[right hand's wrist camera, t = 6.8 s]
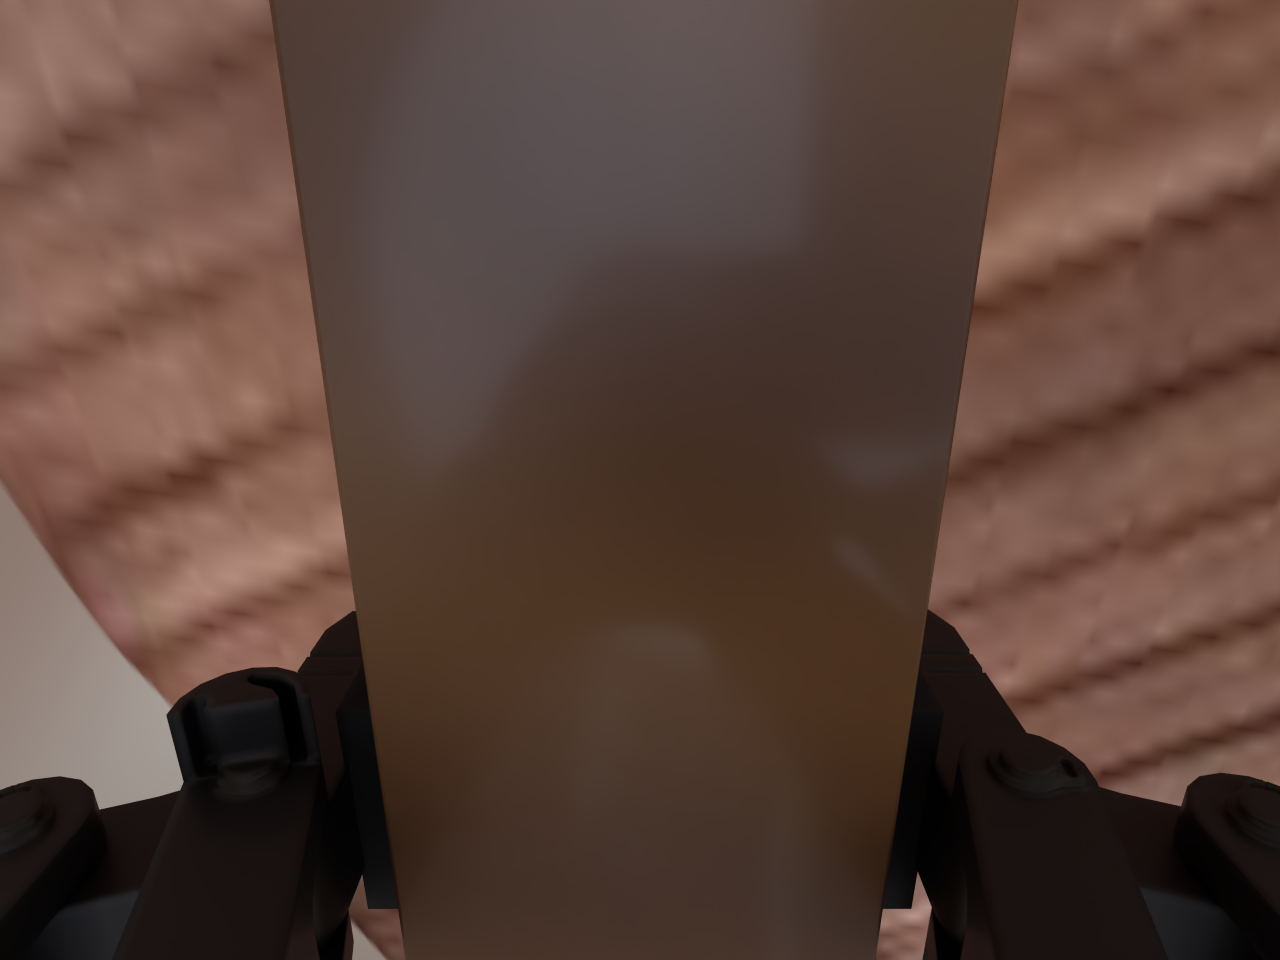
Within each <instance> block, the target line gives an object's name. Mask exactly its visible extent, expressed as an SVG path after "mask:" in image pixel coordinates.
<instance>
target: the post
mask: <svg viewBox="0 0 1280 960" xmlns="http://www.w3.org/2000/svg"><path fill="white" fill-rule="evenodd" d="M269 1H270V8H271V15H272V22H273V30H274V37H275V44H276V51H277V58H278V65H279V72H280V79H281V86H282V93H283V100H284V107H285V114H286V121H287V128H288V135H289V142H290V149H291V156H292V163H293V170H294V178H295V185H296V192H297V199H298V206H299V213H300V220H301V227H302V234H303V241H304V248H305V255H306V262H307V269H308V276H309V283H310V290H311V297H312V304H313V311H314V318H315V326H316V333H317V340H318V347H319V354H320V361H321V368H322V375H323V382H324V389H325V396H326V403H327V410H328V417H329V424H330V431H331V438H332V445H333V452H334V459H335V466H336V474H337V481H338V488H339V495H340V502H341V509H342V516H343V523H344V530H345V537H346V544H347V551H348V558H349V565H350V572H351V579H352V586H353V593H354V600H355V607H356V614H357V622H358V629H359V636H360V643H361V650H362V657H363V664H364V671H365V678H366V685H367V692H368V699H369V706H370V713H371V720H372V727H373V734H374V741H375V748H376V755H377V762H378V769H379V777H380V784H381V791H382V798H383V805H384V812H385V819H386V826H387V833H388V840H389V847H390V854H391V861H392V868H393V875H394V882H395V889H396V896H397V903H398V910H399V917H400V925H401V932H402V939H403V946H404V953H405V960H875V958H876V951H877V944H878V937H879V931H880V924H881V917H882V911H883V904H884V897H885V891H886V884H887V877H888V870H889V864H890V857H891V850H892V844H893V837H894V830H895V824H896V817H897V810H898V803H899V797H900V790H901V783H902V777H903V770H904V763H905V756H906V750H907V743H908V736H909V730H910V723H911V716H912V710H913V703H914V696H915V689H916V683H917V676H918V669H919V663H920V656H921V649H922V643H923V636H924V629H925V622H926V616H927V609H928V602H929V596H930V589H931V582H932V576H933V569H934V562H935V555H936V549H937V542H938V535H939V529H940V522H941V515H942V509H943V502H944V495H945V488H946V482H947V475H948V468H949V462H950V455H951V448H952V442H953V435H954V428H955V421H956V415H957V408H958V401H959V395H960V388H961V381H962V374H963V368H964V361H965V354H966V348H967V341H968V334H969V328H970V321H971V314H972V307H973V301H974V294H975V287H976V281H977V274H978V267H979V261H980V254H981V247H982V240H983V234H984V227H985V220H986V214H987V207H988V200H989V194H990V187H991V180H992V173H993V167H994V160H995V153H996V147H997V140H998V133H999V127H1000V120H1001V113H1002V106H1003V100H1004V93H1005V86H1006V80H1007V73H1008V66H1009V60H1010V53H1011V46H1012V39H1013V33H1014V26H1015V19H1016V13H1017V6H1018V0H269Z"/></svg>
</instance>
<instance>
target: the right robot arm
mask: <svg viewBox="0 0 1280 960" xmlns="http://www.w3.org/2000/svg"><path fill="white" fill-rule="evenodd" d="M167 719H168V723H169V727H170V731H171V735H172V739H173V742H174V746H175V750H176V754H177V758H178V762H179V766H180V769H181V773H182V777H183V781H184V783H183V785H182V787H181V790H180V791H176V792H173V793H170V794H166V795H163V796H159V797H155V798H151V799H146V800H142V801H137V802H132V803H128V804H124V805H119V806H114V807H110V808H105V809H101V810H99V808H98V804H97V801H96V798H95V795H94V792H93V790H92V789H91V788H90V787H89V786H88V785H87V784H85V783H84V782H83V781H82V780H79V779H73V778H66V777H60V776H59V777H51V778H43V779H34V780H30V781H27V782H23V783H20V784H17V785H13V786H10V787H7V788H5V789H2V790H0V960H352V954H353V944H354V941H353V934H352V927H351V921H350V915H349V910H348V909H349V906H350V904H351V901H352V899H353V896H354V894H355V891H356V889H357V886H358V883H359V881H360V878H361V876H362V875H363V881H364V887H365V893H366V899H367V905H368V909H398V903H397V896H396V889H395V882H394V875H393V868H392V861H391V854H390V847H389V840H388V833H387V826H386V819H385V812H384V805H383V798H382V791H381V784H380V777H379V769H378V762H377V755H376V748H375V741H374V734H373V727H372V720H371V713H370V706H369V699H368V692H367V685H366V678H365V671H364V664H363V657H362V650H361V643H360V636H359V629H358V622H357V614H356V611H352V612H351V613H349V614H348V615H347V616H345V617H344V618H342V619H341V620H339V621H338V622H337V623H335V624H334V625H332V626H331V627H329V628H328V629H327V630H325V632H324V633H323V635H322V636H321V638H320V639H319V641H318V642H317V643H316V645H315V646H314V648H313V649H312V651H311V652H310V657H307V658H306V660H305V661H304V663H303V664H302V665H301V667H300V668H299V670H298V673H297V672H295V671H291V670H287V669H283V668H279V667H261V668H249V669H245V670H240V671H236V672H231V673H227V674H224V675H222V676H219V677H217V678H214V679H212V680H210V681H207V682H205V683H203V684H200V685H199V686H197V687H196V688H194V689H193V690H191V691H190V692H189V693H187V694H186V695H184V696H183V697H181V698H180V699H179V700H178V701H177V702H176V704H175V705H174V706H173V707H172V709H171V710H170V711H169V712H168V714H167ZM917 872H918V873H919V876H920V878H921V881H922V883H923V886H924V888H925V891H926V893H927V896H928V899H929V901H930V904H931V906H932V910H931V915H930V921H929V926H928V932H927V937H926V943H925V949H924V954H923V960H1280V786H1278V785H1275V784H1272V783H1270V782H1265V781H1263V780H1260V779H1256V778H1253V777H1249V776H1242V775H1234V774H1226V773H1217V774H1211V775H1205V776H1199V777H1198V778H1197V779H1196V780H1194V781H1193V782H1192V783H1191V784H1190V785H1188V786H1187V789H1186V793H1185V796H1184V799H1183V802H1182V805H1181V806H1177V805H1172V804H1168V803H1163V802H1158V801H1154V800H1149V799H1145V798H1140V797H1136V796H1131V795H1127V794H1122V793H1118V792H1115V791H1112V790H1108V789H1105V788H1101V787H1099V786H1098V784H1097V781H1096V780H1095V778H1094V777H1093V775H1092V774H1091V772H1090V771H1089V769H1088V768H1087V767H1086V765H1085V764H1084V763H1083V762H1082V761H1081V760H1079V759H1078V758H1077V757H1075V756H1074V755H1073V754H1072V753H1070V752H1069V751H1068V750H1067V749H1065V748H1064V747H1062V746H1059V745H1057V744H1055V743H1053V742H1051V741H1049V740H1047V739H1045V738H1043V737H1041V736H1037V735H1033V734H1029V733H1026V731H1025V730H1024V728H1023V727H1022V725H1021V724H1020V723H1019V721H1018V720H1017V718H1016V717H1015V715H1014V714H1013V712H1012V711H1011V709H1010V708H1009V706H1008V705H1007V704H1006V702H1005V701H1004V699H1003V698H1002V696H1001V695H1000V693H999V692H998V690H997V689H996V688H995V686H994V685H993V683H992V682H991V680H990V679H989V677H988V676H987V674H986V673H983V672H982V667H981V666H980V664H979V663H978V661H977V660H976V658H975V657H974V656H973V654H970V652H969V648H968V647H967V645H966V644H965V642H964V641H963V640H962V638H961V637H960V635H959V634H958V632H957V631H956V629H955V628H954V627H953V626H951V625H950V624H948V623H947V622H946V621H944V620H943V619H941V618H940V617H938V616H937V615H936V614H934V613H933V612H931V611H930V610H928V609H927V616H926V622H925V629H924V636H923V643H922V649H921V656H920V663H919V669H918V676H917V683H916V689H915V696H914V703H913V710H912V716H911V723H910V730H909V736H908V743H907V750H906V756H905V763H904V770H903V777H902V783H901V790H900V797H899V803H898V810H897V817H896V824H895V830H894V837H893V844H892V850H891V857H890V864H889V870H888V877H887V884H886V891H885V897H884V904H883V909H911V908H912V902H913V896H914V890H915V884H916V878H917Z"/></svg>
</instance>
